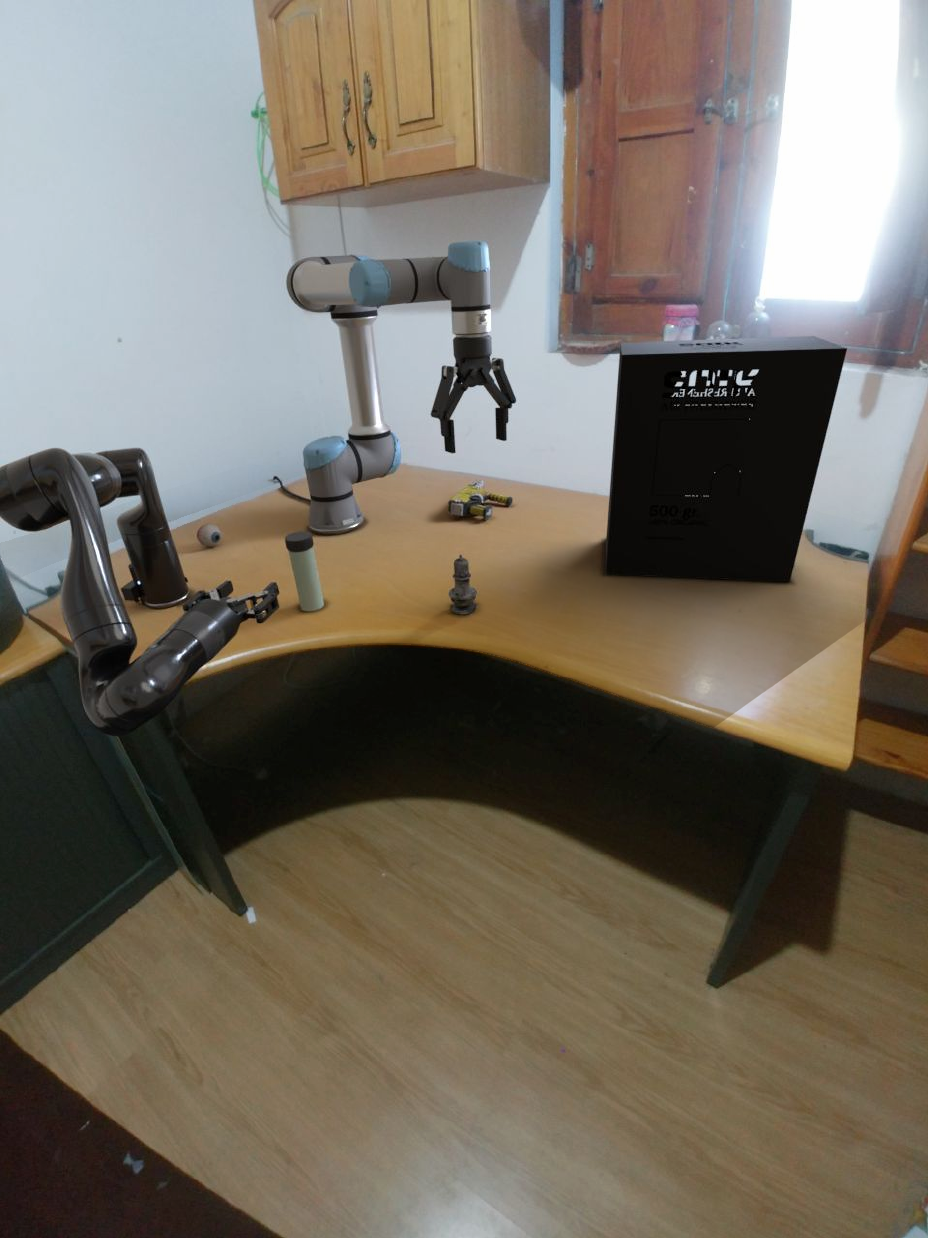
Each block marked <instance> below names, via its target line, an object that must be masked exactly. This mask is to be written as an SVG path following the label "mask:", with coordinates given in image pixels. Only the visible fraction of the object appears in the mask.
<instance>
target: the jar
mask: <svg viewBox="0 0 928 1238" xmlns="http://www.w3.org/2000/svg"><path fill="white" fill-rule="evenodd" d="M287 551H288V556H289V560H290V564H291V569H292V575H293V578H294V583H295V588H296V592H297V597H298V602H299V607H300V609H301V611H303V612H315V611H318V610H320V609H322V608H323V607H324V605H325V602H324V598H323V591H322V586H321V581H320V576H319V571H318V567H317V562H316V555H315V550H314V546H313V547H312V548H310V549H308V550H305V551H300V552H292V551H289V550H288V549H287Z"/></svg>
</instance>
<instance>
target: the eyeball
mask: <svg viewBox="0 0 928 1238" xmlns="http://www.w3.org/2000/svg"><path fill="white" fill-rule="evenodd" d="M196 538H197V540H198V542H199V543H200V544H201V545H202V546H204V547H207V548H213V547H216V546H218V545H219V544H220V543H221V541H222V539H223V535H222V532H221V529H220V528H219V527H218V526H216V525H214V524H212V523H206V524H203V525H201V526H200V527H199V528H198V529H197V532H196Z"/></svg>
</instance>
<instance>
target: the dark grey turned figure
mask: <svg viewBox="0 0 928 1238" xmlns="http://www.w3.org/2000/svg"><path fill="white" fill-rule="evenodd" d="M453 571H454V572H453V575H452V578H453V579H454V587H453V588H451V589H449V591H448V597H449V598H450V601H451V602H452V603H453V604H452V605H451V606H450V610H451V612H453V613H454V614H456V615H469V614H472V613H474V612H476V610H477V604H476V603H475V601H476V598H477V595H478V590H477V589H476V588H475V587H473V586H471V581H470V580H471V579H470V578H471V577H472V574H471V573H470V569H469V560H468V559H467V558H465V557H463V555H462V554H459V555H458V558H455V560H454V561H453Z"/></svg>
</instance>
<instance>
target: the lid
mask: <svg viewBox="0 0 928 1238" xmlns="http://www.w3.org/2000/svg"><path fill="white" fill-rule="evenodd" d="M284 542H285V548H286V550H287V551H288V550H289V551H292V552H300V551H305V550H308V549H310V548H312V547H313V548H314V538H313V535H312V533H311V532H310V531H306V530H302V531H301V530H300V531H299V530H298V531H294V532H291V533H289V534H287V535H286V536H285V537H284ZM289 551H288V552H289Z"/></svg>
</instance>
